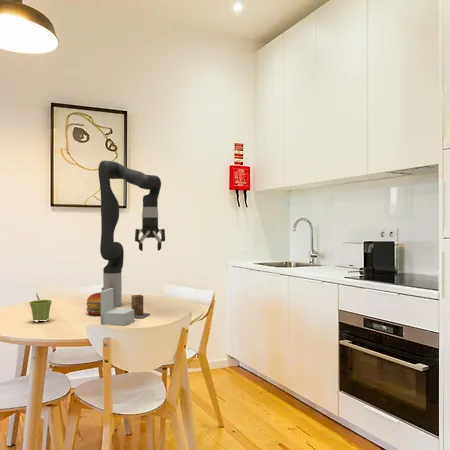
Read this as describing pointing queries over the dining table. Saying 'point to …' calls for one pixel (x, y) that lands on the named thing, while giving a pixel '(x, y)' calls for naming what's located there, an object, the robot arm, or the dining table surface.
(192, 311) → the dining table surface
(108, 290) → the ledge
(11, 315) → the dining table surface
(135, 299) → the walnut block
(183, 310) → the dining table surface
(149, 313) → the mat
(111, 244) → the robot arm
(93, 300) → the burger
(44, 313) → the plant pot
